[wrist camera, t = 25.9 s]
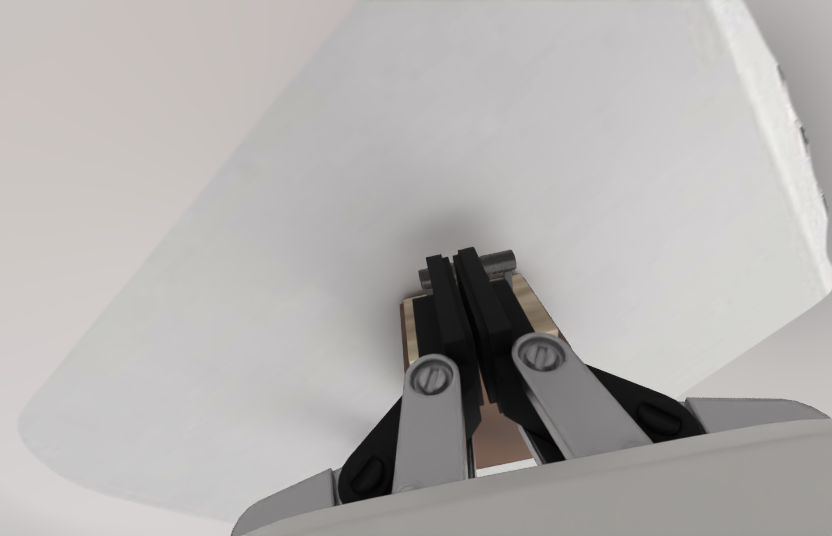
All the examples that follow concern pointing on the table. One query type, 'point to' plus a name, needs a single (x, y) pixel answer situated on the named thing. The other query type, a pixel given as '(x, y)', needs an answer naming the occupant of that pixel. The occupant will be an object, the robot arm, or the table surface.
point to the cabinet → (489, 423)
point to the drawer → (491, 266)
